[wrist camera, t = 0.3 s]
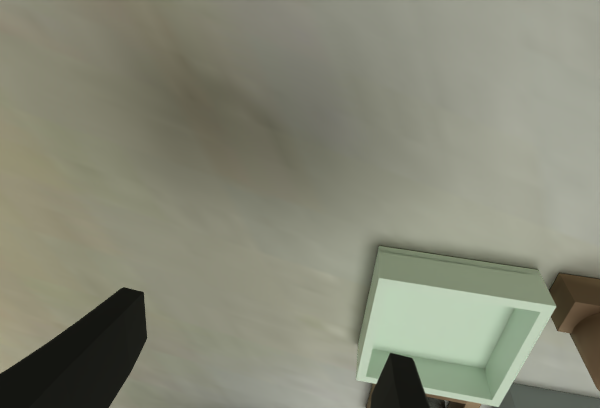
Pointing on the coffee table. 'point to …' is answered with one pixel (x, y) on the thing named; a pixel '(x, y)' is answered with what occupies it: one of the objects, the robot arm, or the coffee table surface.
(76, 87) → the coffee table surface
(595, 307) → the brown block with knobs
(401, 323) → the tray
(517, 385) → the pale blue block
